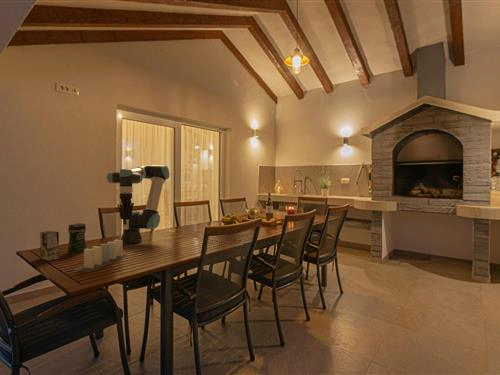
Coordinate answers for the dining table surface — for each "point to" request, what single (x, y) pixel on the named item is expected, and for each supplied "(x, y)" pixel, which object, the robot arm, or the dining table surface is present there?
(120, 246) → the domino
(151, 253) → the dining table surface
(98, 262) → the domino
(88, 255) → the domino
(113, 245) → the domino
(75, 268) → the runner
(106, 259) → the domino
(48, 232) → the coffee box
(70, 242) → the coffee jar
